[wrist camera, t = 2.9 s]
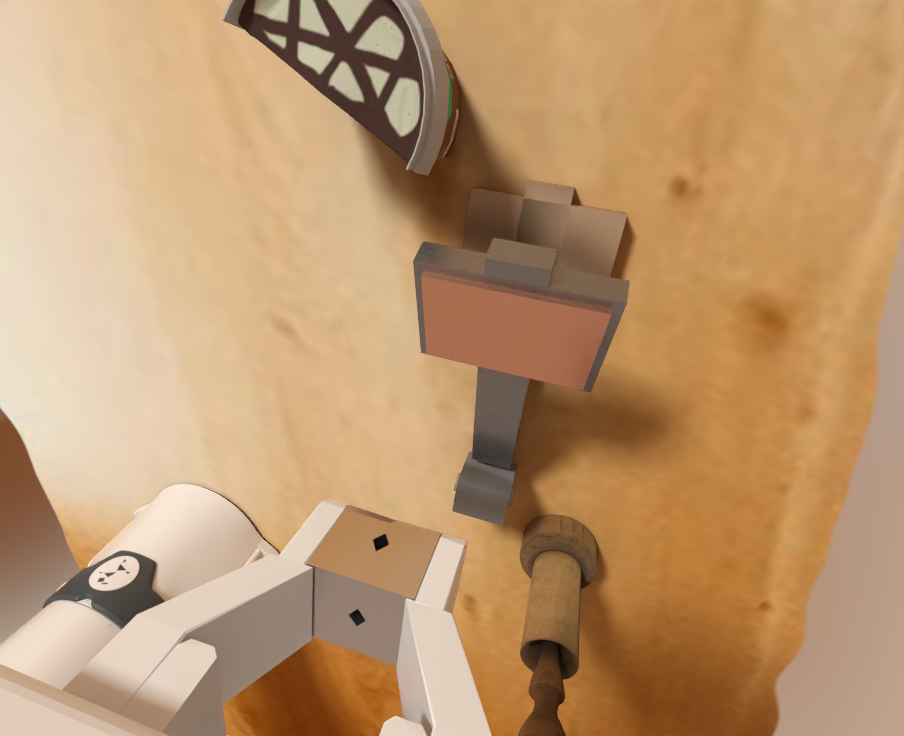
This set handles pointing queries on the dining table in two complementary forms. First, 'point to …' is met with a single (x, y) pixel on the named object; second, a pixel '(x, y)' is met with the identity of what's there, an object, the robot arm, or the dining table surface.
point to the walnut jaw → (578, 248)
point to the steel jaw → (513, 327)
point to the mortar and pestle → (553, 612)
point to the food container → (367, 66)
